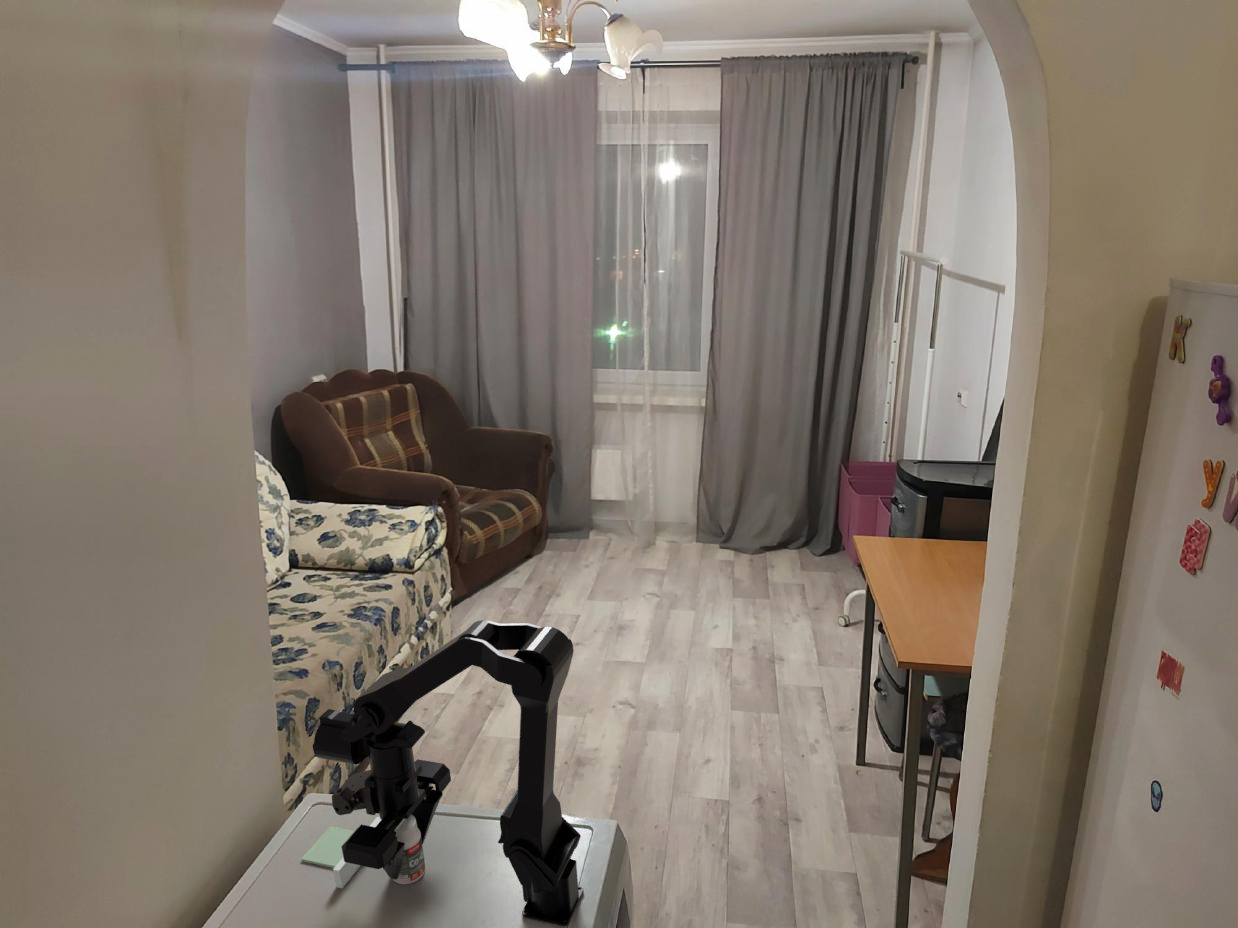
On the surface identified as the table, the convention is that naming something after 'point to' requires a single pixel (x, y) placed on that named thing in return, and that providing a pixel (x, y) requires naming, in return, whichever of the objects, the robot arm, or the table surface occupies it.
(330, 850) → the coaster
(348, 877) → the acrylic wall
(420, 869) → the pill bottle
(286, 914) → the table surface
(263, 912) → the table surface
